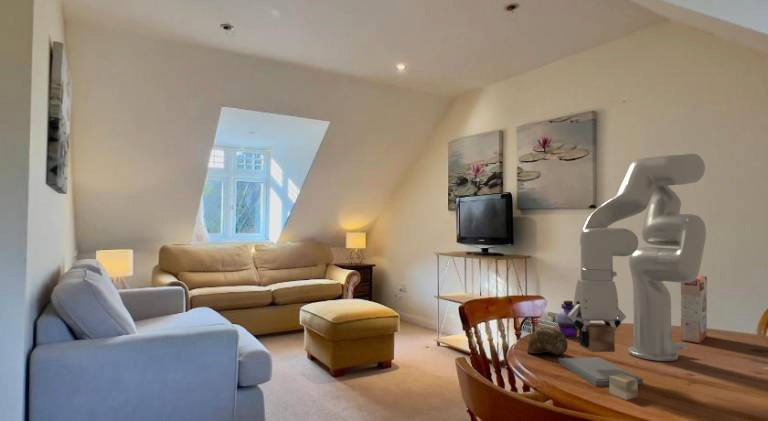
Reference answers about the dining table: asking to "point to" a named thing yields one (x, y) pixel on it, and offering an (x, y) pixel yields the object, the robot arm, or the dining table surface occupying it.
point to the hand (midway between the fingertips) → (596, 345)
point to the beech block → (623, 386)
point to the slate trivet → (595, 369)
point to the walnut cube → (600, 338)
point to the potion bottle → (566, 320)
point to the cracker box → (694, 310)
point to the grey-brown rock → (547, 341)
